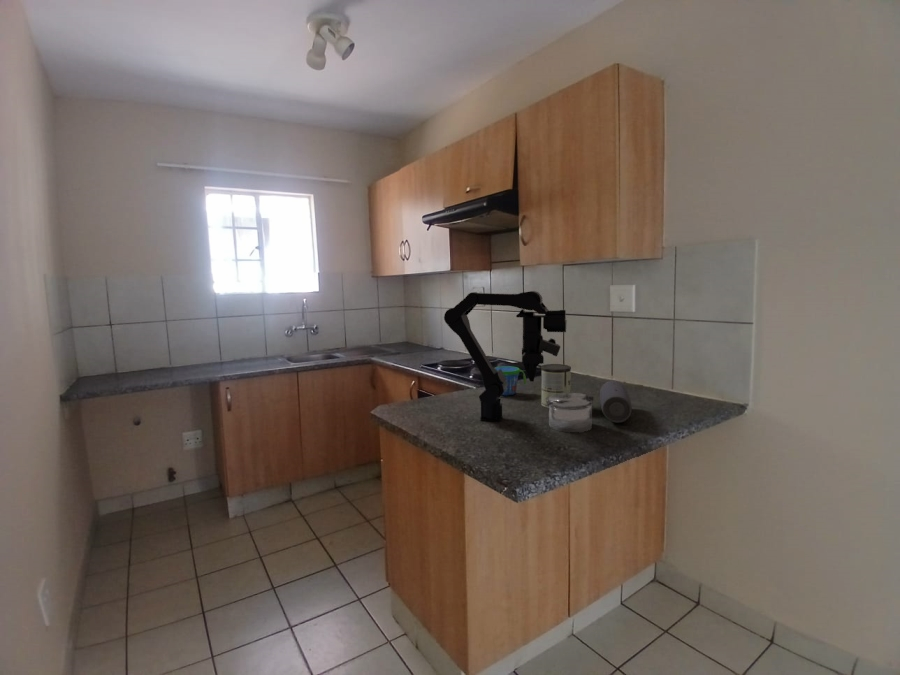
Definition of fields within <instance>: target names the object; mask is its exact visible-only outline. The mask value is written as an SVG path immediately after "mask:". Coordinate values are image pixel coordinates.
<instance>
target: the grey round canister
mask: <svg viewBox="0 0 900 675" xmlns="http://www.w3.org/2000/svg"><path fill="white" fill-rule="evenodd" d="M592 413H593V403H592V404H591V405H589V406H586V407H580V408H560V407H555V406H552V405H549V408H548V426H549V427H550V428H551V429H553V430H555V431H559V432H562V431H563V433H570V432H579V433H584V431H586V432H588V430H589V431H590V430H592V424H593V422H592V417H593V414H592Z"/></svg>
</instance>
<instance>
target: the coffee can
mask: <svg viewBox="0 0 900 675" xmlns="http://www.w3.org/2000/svg"><path fill="white" fill-rule="evenodd" d="M540 369H541V398H540V399H541V402H540V403H541V406H542V407H544V408H546V409H549V405H547V402H546V398H547V397H550V396H552V395H556V394H562V393H571V372H572V371H571V369H572V366H570V365H568V364H561V363H548V364H543V365H541V367H540Z"/></svg>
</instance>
